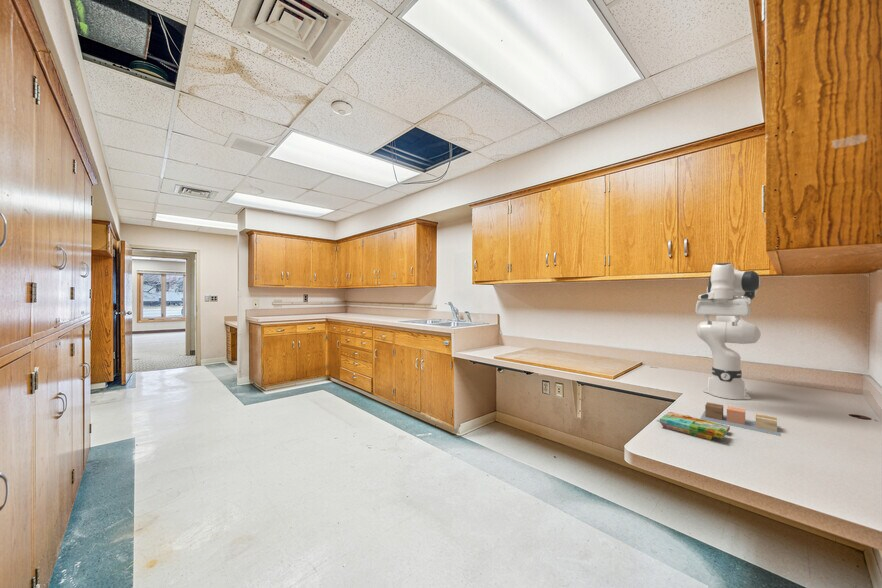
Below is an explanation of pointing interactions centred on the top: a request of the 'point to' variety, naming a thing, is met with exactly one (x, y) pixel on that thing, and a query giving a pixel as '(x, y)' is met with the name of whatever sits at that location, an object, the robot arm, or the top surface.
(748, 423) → the baseplate
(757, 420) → the oak brick
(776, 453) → the top surface
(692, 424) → the puzzle game
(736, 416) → the terracotta block
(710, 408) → the walnut block
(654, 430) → the top surface
